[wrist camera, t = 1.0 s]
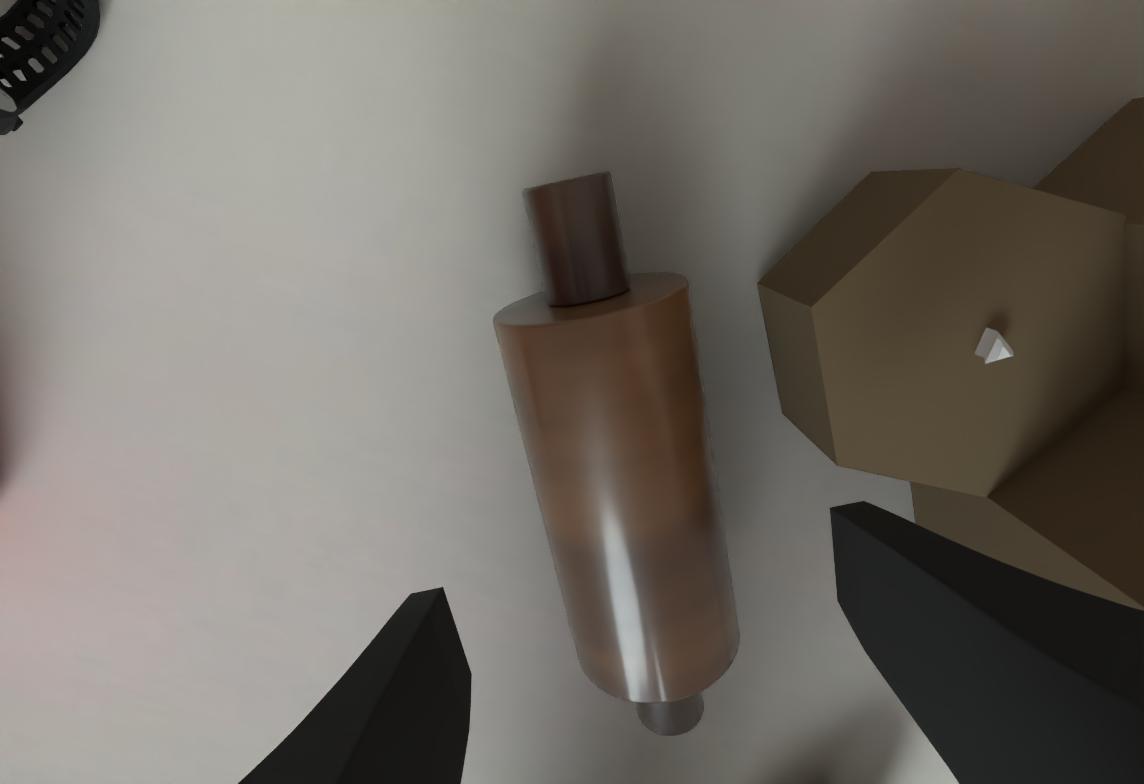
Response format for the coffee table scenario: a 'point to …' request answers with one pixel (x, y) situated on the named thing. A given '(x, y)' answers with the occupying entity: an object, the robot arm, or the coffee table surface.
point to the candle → (985, 354)
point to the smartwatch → (9, 102)
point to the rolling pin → (621, 458)
